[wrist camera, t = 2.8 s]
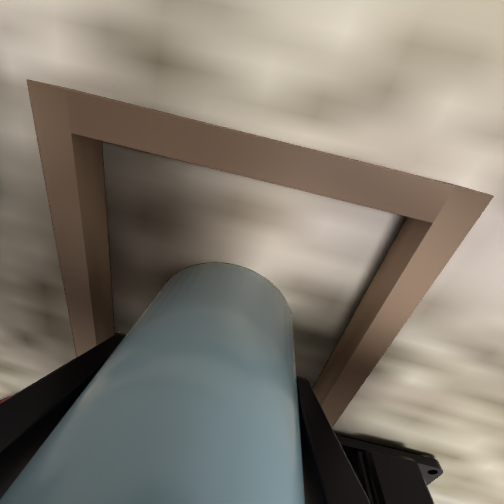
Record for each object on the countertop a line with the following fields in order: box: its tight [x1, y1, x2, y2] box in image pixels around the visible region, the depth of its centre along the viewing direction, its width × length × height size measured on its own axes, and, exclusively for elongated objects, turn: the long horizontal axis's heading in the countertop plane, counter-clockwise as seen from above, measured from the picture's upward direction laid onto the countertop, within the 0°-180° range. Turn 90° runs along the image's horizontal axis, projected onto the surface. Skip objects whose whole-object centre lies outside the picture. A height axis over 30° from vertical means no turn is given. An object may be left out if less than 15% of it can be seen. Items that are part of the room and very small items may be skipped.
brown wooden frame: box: [27, 80, 494, 427], centre depth 10 cm, size 15×12×1 cm
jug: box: [0, 263, 305, 504], centre depth 7 cm, size 8×6×8 cm
